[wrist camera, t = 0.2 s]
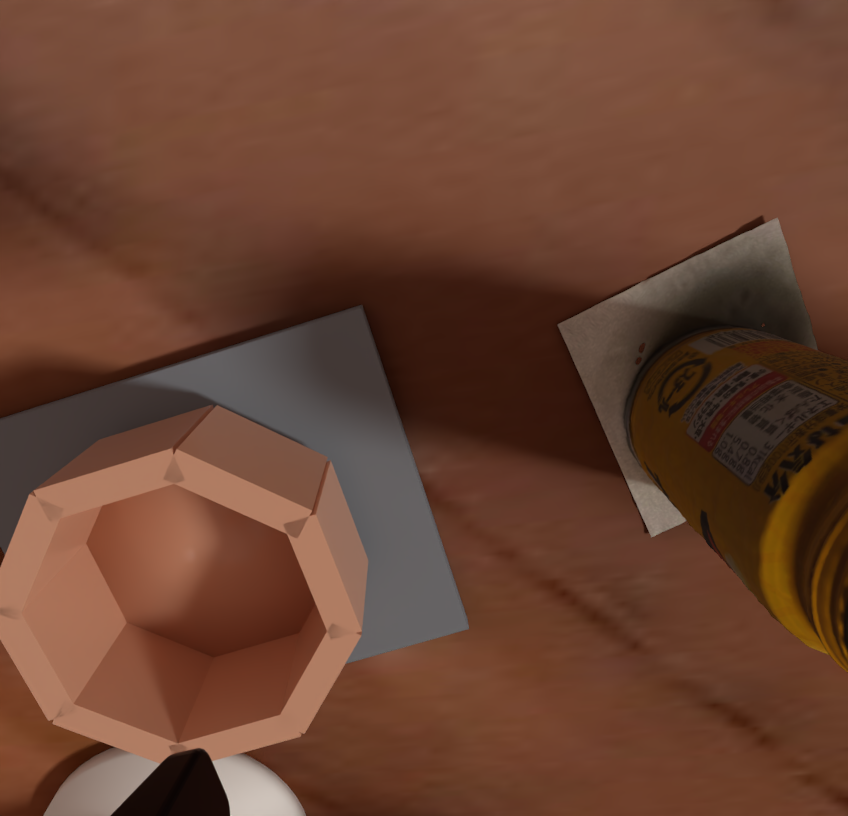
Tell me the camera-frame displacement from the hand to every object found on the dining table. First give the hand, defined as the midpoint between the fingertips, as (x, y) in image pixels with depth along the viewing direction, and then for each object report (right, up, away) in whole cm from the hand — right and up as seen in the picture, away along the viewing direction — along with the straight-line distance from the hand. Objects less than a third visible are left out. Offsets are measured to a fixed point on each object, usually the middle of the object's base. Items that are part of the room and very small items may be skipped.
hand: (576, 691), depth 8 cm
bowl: (-9, -1, +14) cm, 17 cm away
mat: (-9, -1, +15) cm, 17 cm away
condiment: (+8, +4, +14) cm, 17 cm away
